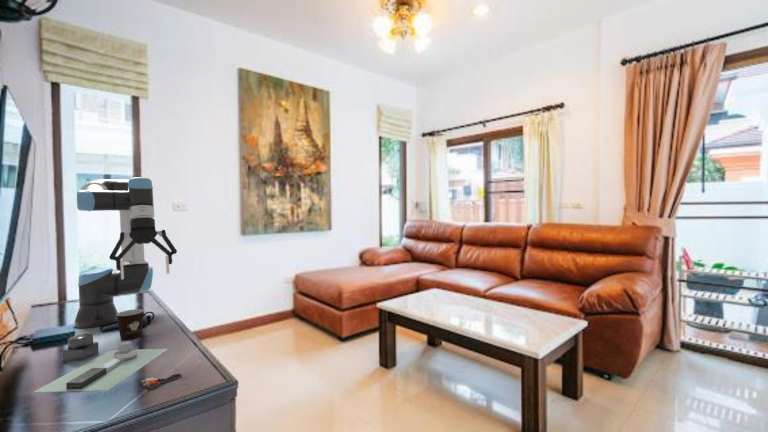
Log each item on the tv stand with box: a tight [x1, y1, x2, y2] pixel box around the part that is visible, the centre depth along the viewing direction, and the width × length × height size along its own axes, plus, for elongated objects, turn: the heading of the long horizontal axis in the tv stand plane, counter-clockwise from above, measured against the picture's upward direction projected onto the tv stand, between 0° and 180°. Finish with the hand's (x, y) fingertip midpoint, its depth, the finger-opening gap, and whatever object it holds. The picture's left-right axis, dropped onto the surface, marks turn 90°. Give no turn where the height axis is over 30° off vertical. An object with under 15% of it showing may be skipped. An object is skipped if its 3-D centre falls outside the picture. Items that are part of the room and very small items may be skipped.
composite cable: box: [141, 373, 183, 391], centre depth 100 cm, size 10×5×2 cm, turn 129°
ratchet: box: [66, 340, 138, 389], centre depth 108 cm, size 23×6×5 cm, turn 2°
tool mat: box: [33, 348, 169, 393], centre depth 109 cm, size 28×20×1 cm
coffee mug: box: [116, 308, 155, 342], centre depth 136 cm, size 12×9×10 cm
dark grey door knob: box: [62, 333, 99, 362], centre depth 118 cm, size 6×6×7 cm
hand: (146, 276), depth 127 cm, fingers open, 13 cm apart
